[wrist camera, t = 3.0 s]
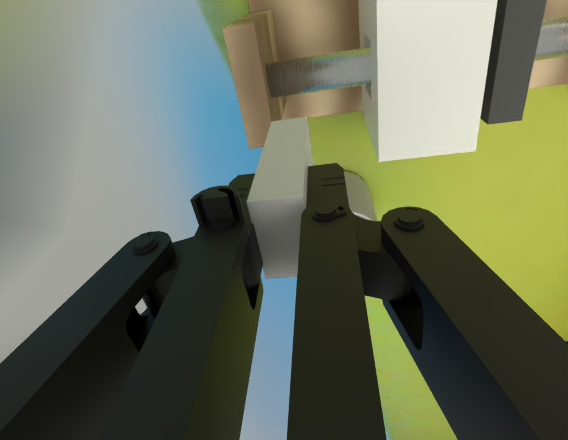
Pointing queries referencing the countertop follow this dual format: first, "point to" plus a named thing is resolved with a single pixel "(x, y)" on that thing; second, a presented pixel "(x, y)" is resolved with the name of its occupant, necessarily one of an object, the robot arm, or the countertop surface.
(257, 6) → the stand
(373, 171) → the countertop surface
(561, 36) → the pipe
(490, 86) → the dark grey square plate
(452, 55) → the sleeve
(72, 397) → the robot arm
